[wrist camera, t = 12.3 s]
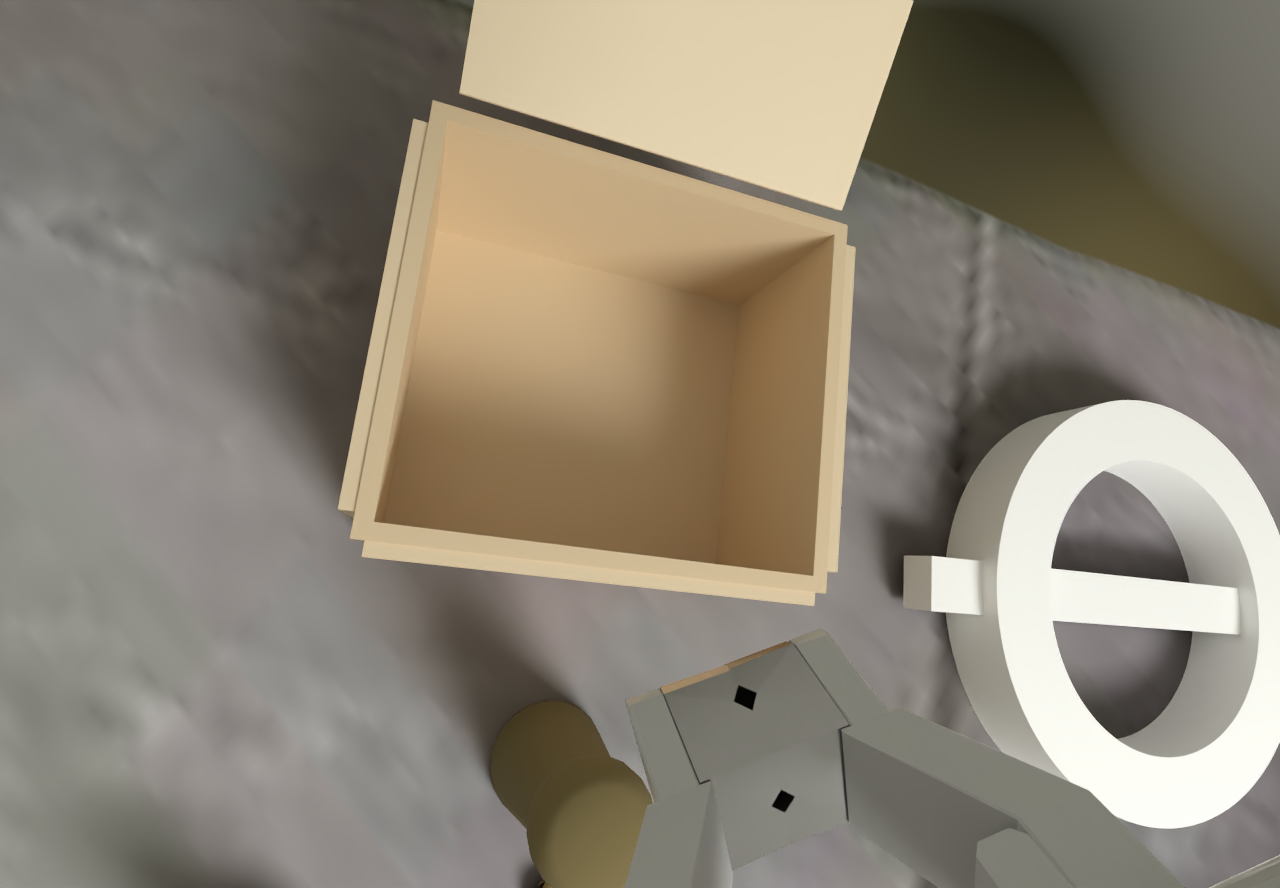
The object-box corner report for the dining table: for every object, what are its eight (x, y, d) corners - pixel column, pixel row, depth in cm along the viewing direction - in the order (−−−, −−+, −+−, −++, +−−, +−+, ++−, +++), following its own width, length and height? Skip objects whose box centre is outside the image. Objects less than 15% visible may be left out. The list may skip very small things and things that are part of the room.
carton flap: (841, 210, 33) (913, 1, 30) (459, 92, 28) (503, -175, 25) (835, 209, 34) (905, 4, 31) (459, 93, 28) (502, -168, 25)
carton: (728, 594, 41) (836, 608, 31) (351, 552, 35) (328, 553, 25) (753, 302, 45) (857, 228, 34) (414, 217, 38) (417, 95, 28)
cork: (580, 680, 38) (646, 730, 27) (618, 786, 38) (698, 875, 27) (473, 731, 36) (501, 805, 25) (512, 843, 35) (556, 963, 25)
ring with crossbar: (868, 578, 45) (918, 581, 41) (1086, 343, 54) (1146, 324, 50) (1104, 893, 47) (1177, 929, 43) (1274, 615, 57) (1347, 620, 52)
